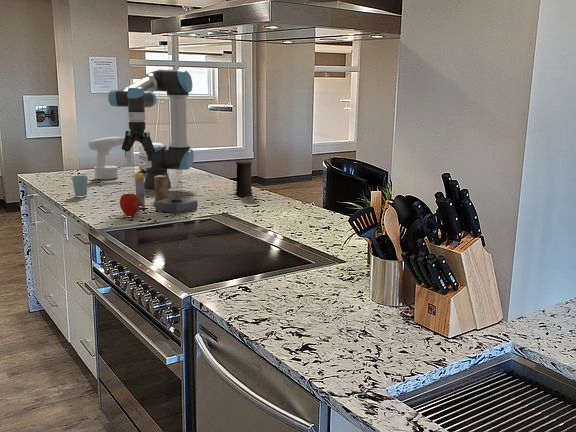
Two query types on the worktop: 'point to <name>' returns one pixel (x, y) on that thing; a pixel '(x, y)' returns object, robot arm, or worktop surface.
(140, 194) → the round bit
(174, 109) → the robot arm
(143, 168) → the milk container
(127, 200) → the apple
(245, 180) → the container
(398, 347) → the worktop surface
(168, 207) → the holder plate
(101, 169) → the power drill
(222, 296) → the worktop surface
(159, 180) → the square bit
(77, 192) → the cup
